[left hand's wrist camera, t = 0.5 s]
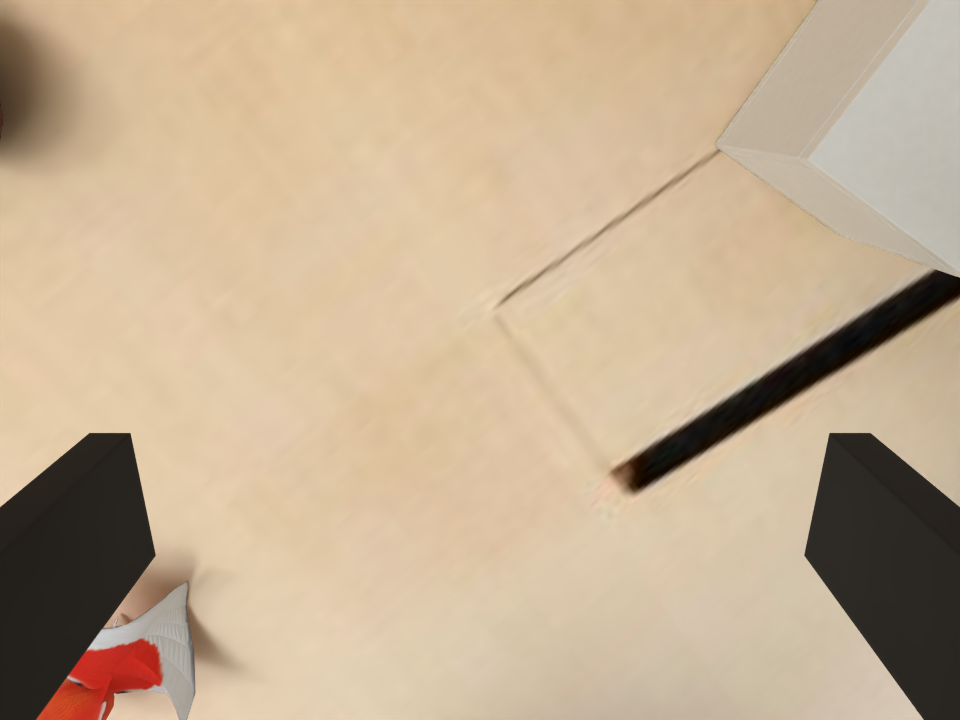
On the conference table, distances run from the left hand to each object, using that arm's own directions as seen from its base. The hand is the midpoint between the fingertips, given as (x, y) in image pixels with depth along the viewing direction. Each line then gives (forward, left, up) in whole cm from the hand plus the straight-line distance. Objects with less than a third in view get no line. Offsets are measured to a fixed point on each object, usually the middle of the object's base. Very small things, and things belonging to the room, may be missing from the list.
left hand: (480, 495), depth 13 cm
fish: (-28, +25, -27) cm, 46 cm away
